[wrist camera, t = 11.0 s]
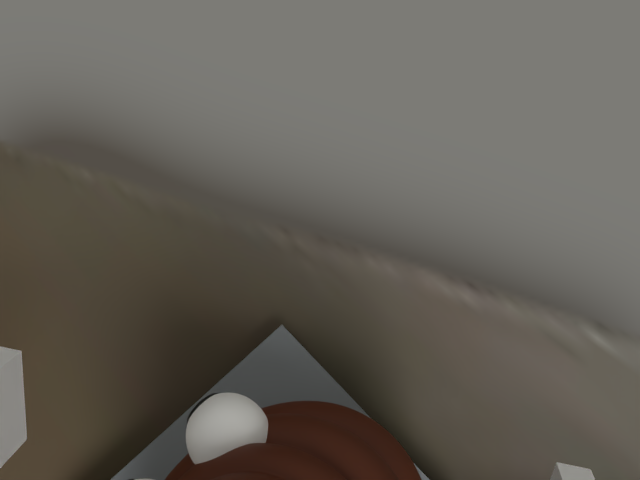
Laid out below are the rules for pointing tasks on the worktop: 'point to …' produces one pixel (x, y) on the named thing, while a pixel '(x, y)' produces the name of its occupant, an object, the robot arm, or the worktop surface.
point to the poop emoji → (287, 443)
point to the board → (258, 385)
